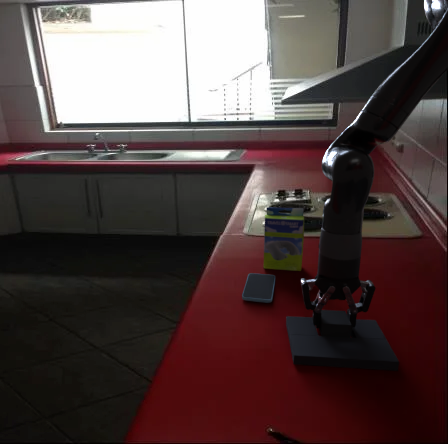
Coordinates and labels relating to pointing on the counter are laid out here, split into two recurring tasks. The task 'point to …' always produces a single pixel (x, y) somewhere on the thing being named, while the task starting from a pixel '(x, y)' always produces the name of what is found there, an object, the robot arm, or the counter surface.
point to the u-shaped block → (340, 346)
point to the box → (283, 239)
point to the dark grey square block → (335, 324)
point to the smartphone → (259, 288)
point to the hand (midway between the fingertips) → (333, 326)
